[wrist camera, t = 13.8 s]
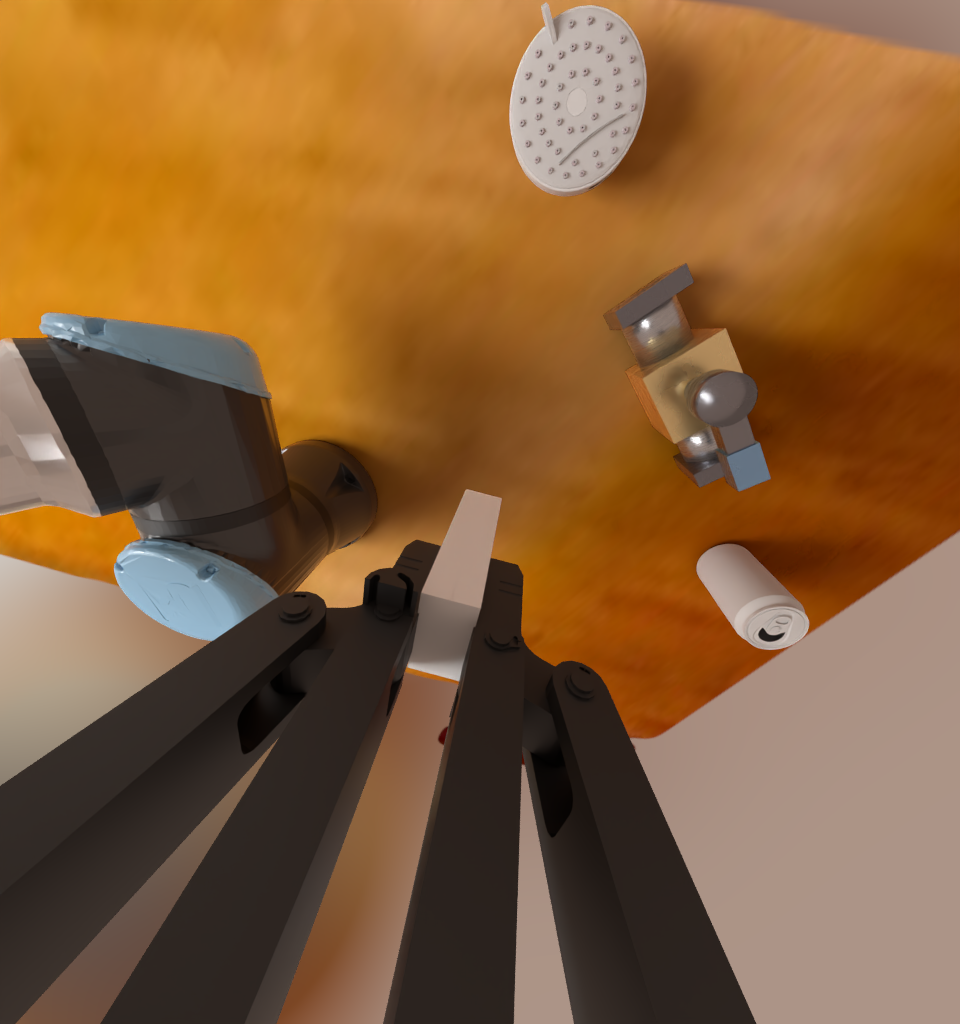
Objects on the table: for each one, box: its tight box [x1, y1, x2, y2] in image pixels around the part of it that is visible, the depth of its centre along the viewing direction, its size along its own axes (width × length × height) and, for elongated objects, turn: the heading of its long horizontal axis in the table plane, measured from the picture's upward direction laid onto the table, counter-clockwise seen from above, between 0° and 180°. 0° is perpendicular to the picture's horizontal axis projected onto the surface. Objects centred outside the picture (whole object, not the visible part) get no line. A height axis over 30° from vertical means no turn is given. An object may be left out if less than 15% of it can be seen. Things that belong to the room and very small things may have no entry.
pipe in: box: [603, 263, 694, 368], centre depth 33 cm, size 6×6×6 cm
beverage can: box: [697, 544, 809, 650], centre depth 41 cm, size 6×6×12 cm
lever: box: [686, 369, 771, 492], centre depth 29 cm, size 10×4×2 cm, turn 32°
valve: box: [625, 328, 743, 444], centre depth 34 cm, size 7×7×10 cm
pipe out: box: [673, 426, 764, 488], centre depth 37 cm, size 6×6×6 cm
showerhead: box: [510, 2, 647, 196], centre depth 28 cm, size 9×7×10 cm
